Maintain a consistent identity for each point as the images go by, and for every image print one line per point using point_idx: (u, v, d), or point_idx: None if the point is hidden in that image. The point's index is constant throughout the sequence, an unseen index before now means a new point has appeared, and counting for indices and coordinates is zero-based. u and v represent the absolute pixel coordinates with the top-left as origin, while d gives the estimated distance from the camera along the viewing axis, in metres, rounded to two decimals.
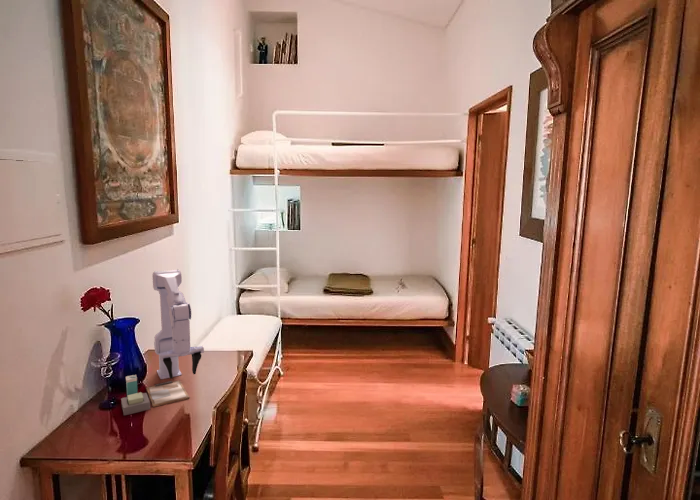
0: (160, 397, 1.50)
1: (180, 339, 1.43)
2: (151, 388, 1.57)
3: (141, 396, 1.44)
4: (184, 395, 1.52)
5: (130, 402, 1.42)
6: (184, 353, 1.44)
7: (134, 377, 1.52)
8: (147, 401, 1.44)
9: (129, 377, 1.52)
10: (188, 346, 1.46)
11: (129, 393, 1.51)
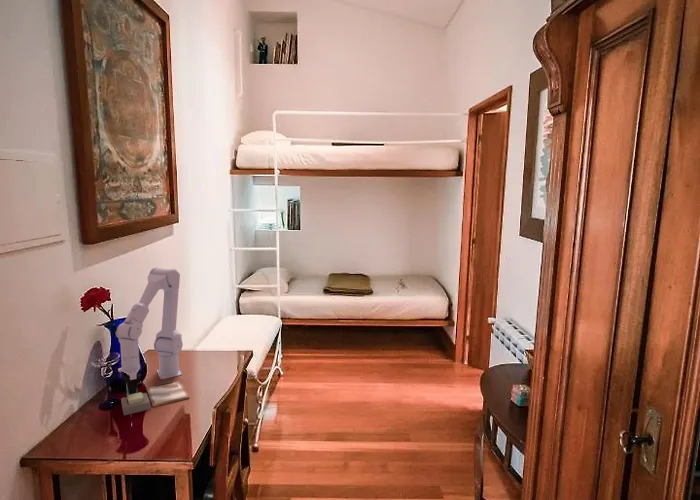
0: (160, 397, 1.50)
1: (122, 356, 1.49)
2: (151, 388, 1.57)
3: (141, 396, 1.44)
4: (184, 395, 1.52)
5: (130, 402, 1.42)
6: (118, 369, 1.50)
7: None
8: (147, 401, 1.44)
9: None
10: (124, 365, 1.49)
11: None
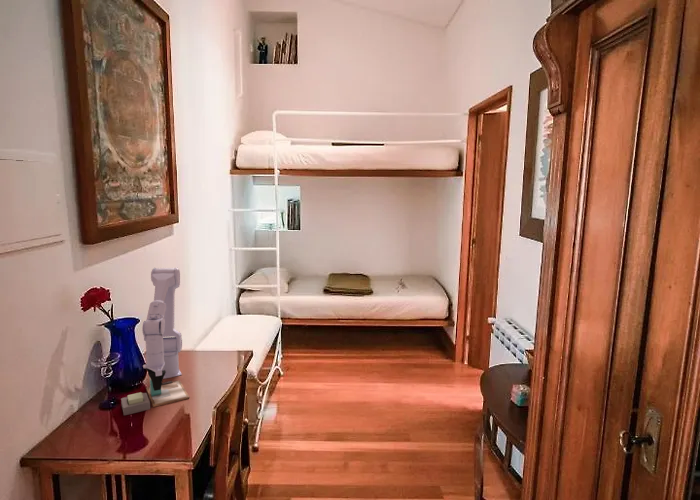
0: (160, 397, 1.50)
1: (150, 353, 1.48)
2: None
3: (141, 396, 1.44)
4: (184, 395, 1.52)
5: (130, 402, 1.42)
6: (143, 365, 1.49)
7: None
8: (147, 401, 1.44)
9: None
10: (149, 361, 1.49)
11: (153, 391, 1.51)
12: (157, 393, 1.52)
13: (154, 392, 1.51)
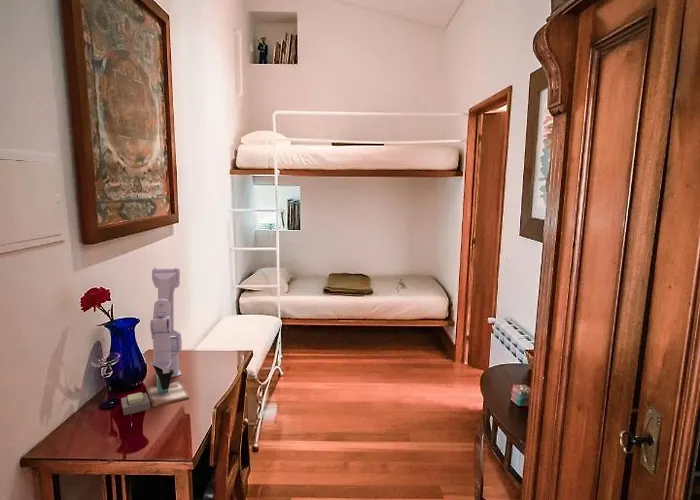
0: (160, 397, 1.50)
1: (158, 351, 1.50)
2: (151, 388, 1.57)
3: (141, 396, 1.44)
4: (184, 395, 1.52)
5: (130, 402, 1.42)
6: (151, 363, 1.52)
7: None
8: (147, 401, 1.44)
9: None
10: (156, 359, 1.51)
11: (160, 388, 1.53)
12: (164, 391, 1.54)
13: (161, 390, 1.53)
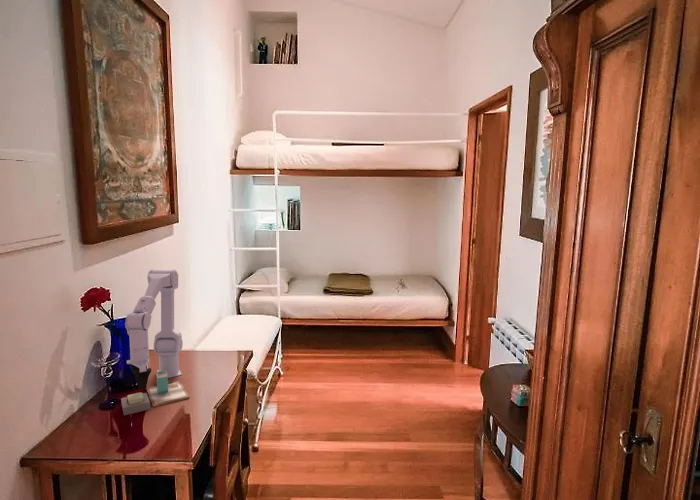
0: (160, 397, 1.50)
1: (133, 348, 1.42)
2: (151, 388, 1.57)
3: (141, 396, 1.44)
4: (184, 395, 1.52)
5: (130, 402, 1.42)
6: (127, 361, 1.43)
7: (165, 373, 1.54)
8: (147, 401, 1.44)
9: (160, 373, 1.54)
10: (133, 357, 1.42)
11: (160, 388, 1.53)
12: (164, 391, 1.54)
13: (161, 390, 1.53)
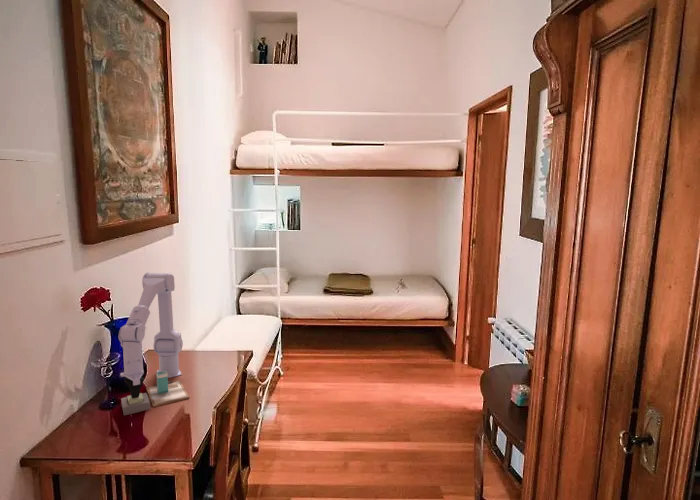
0: (160, 397, 1.50)
1: (126, 360, 1.40)
2: (151, 388, 1.57)
3: (141, 397, 1.45)
4: (184, 395, 1.52)
5: (130, 403, 1.42)
6: (121, 374, 1.41)
7: (165, 373, 1.54)
8: (147, 401, 1.44)
9: (160, 373, 1.54)
10: (127, 369, 1.40)
11: (160, 388, 1.53)
12: (164, 391, 1.54)
13: (161, 390, 1.53)
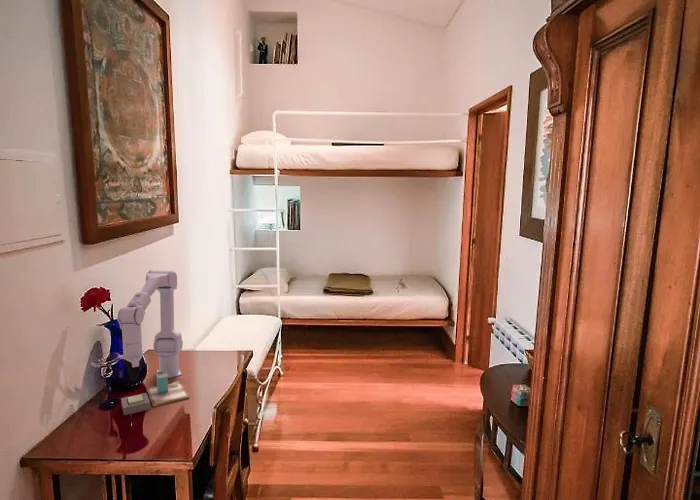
0: (160, 397, 1.50)
1: (125, 342, 1.39)
2: (151, 388, 1.57)
3: (141, 398, 1.45)
4: (184, 395, 1.52)
5: (130, 404, 1.42)
6: (120, 356, 1.40)
7: (165, 373, 1.54)
8: (147, 401, 1.44)
9: (160, 373, 1.54)
10: (126, 352, 1.40)
11: (160, 388, 1.53)
12: (164, 391, 1.54)
13: (161, 390, 1.53)
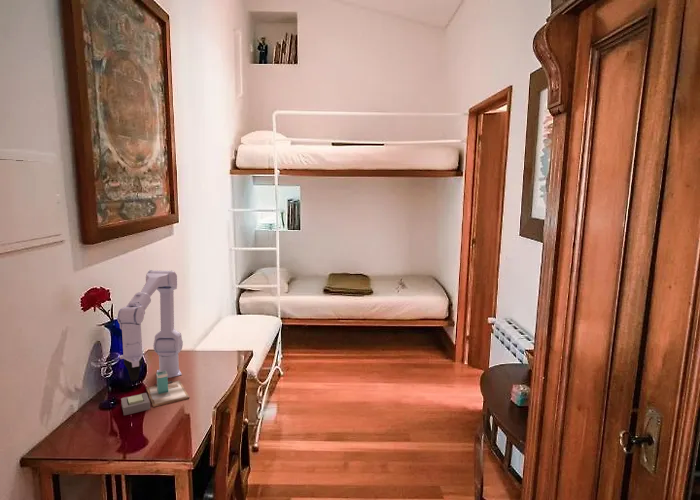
0: (160, 397, 1.50)
1: (125, 342, 1.39)
2: (151, 388, 1.57)
3: (141, 398, 1.45)
4: (184, 395, 1.52)
5: (130, 404, 1.42)
6: (120, 356, 1.40)
7: (165, 373, 1.54)
8: (147, 401, 1.44)
9: (160, 373, 1.54)
10: (126, 352, 1.40)
11: (160, 388, 1.53)
12: (164, 391, 1.54)
13: (161, 390, 1.53)
